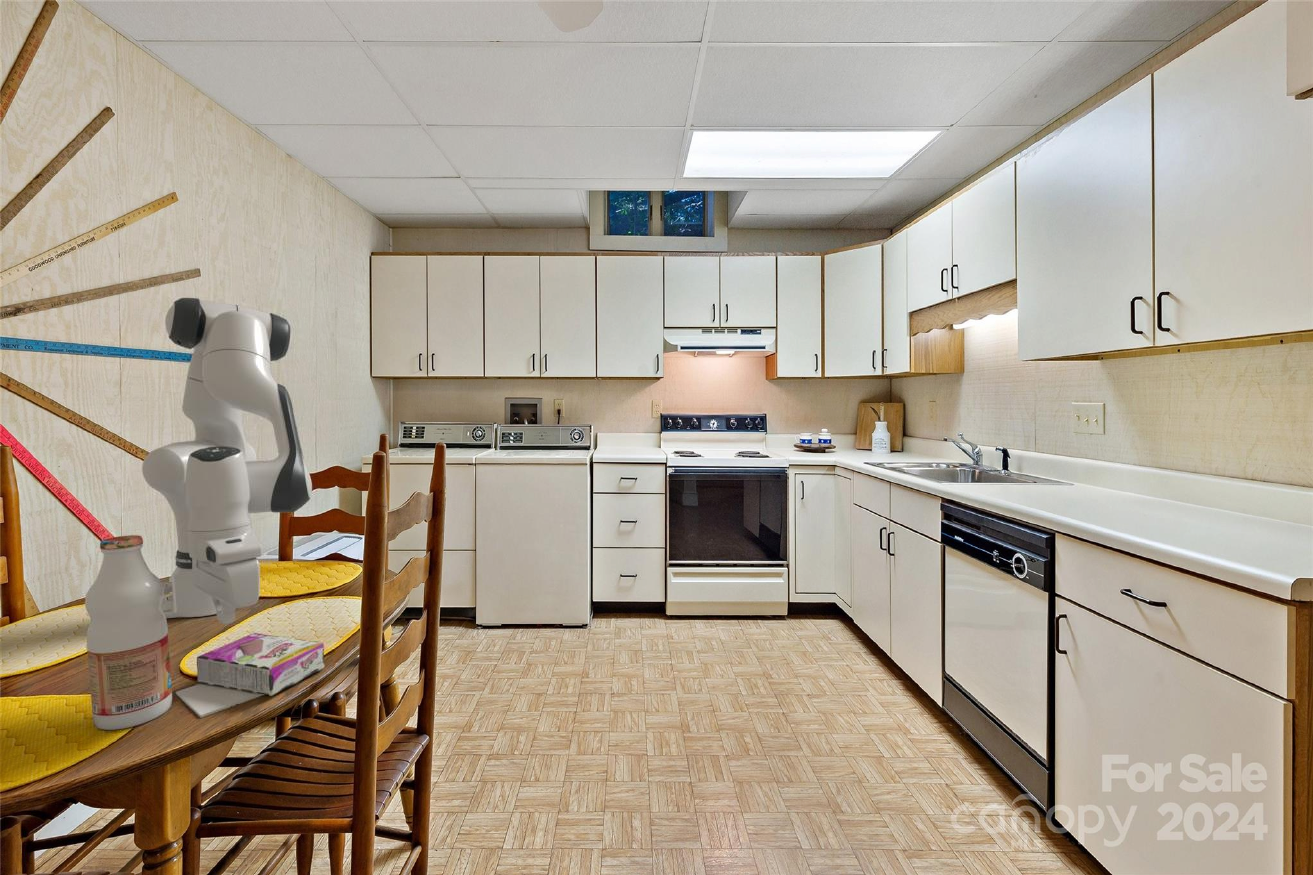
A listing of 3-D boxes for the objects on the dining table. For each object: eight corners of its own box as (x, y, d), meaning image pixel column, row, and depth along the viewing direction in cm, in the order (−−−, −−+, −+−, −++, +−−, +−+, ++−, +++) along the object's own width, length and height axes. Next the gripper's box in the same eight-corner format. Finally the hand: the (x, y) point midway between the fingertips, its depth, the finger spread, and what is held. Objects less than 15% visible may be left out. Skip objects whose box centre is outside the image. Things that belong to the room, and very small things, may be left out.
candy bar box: (254, 630, 114) (325, 641, 109) (255, 656, 114) (326, 668, 110) (194, 655, 103) (270, 668, 99) (195, 683, 103) (271, 698, 99)
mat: (175, 693, 101) (175, 691, 101) (269, 663, 112) (269, 661, 112) (200, 717, 94) (200, 715, 94) (297, 682, 105) (297, 680, 105)
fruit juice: (75, 728, 91) (60, 545, 88) (139, 697, 100) (127, 530, 98) (128, 734, 89) (114, 548, 87) (188, 702, 98) (177, 532, 96)
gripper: (178, 537, 107) (184, 613, 108) (221, 556, 95) (226, 642, 96) (220, 530, 112) (225, 603, 113) (266, 547, 100) (270, 629, 101)
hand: (226, 621), depth 104 cm, fingers closed
